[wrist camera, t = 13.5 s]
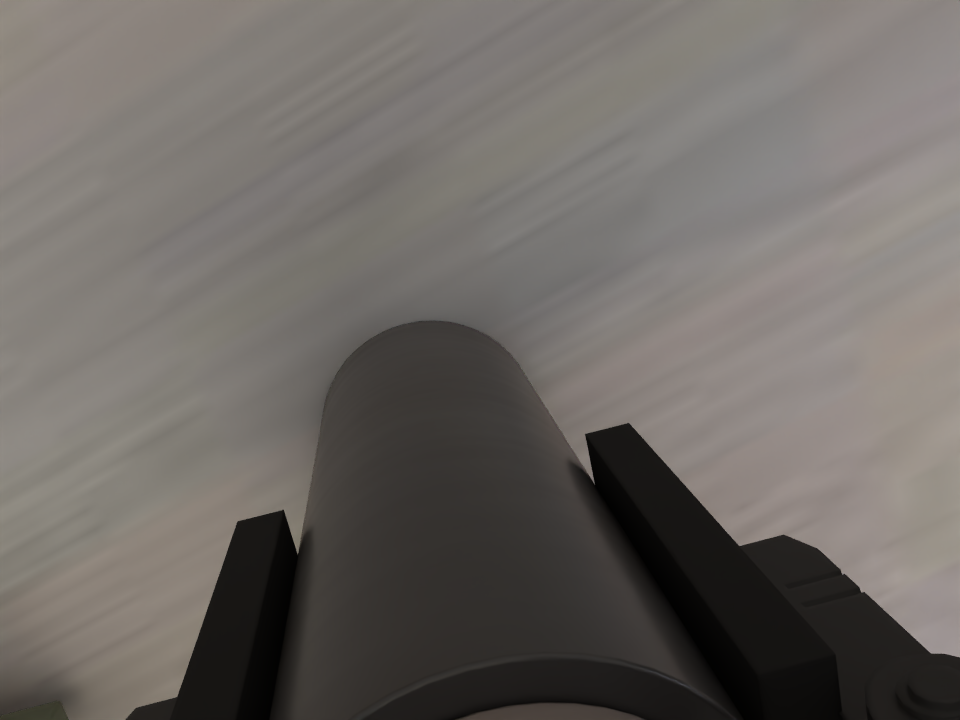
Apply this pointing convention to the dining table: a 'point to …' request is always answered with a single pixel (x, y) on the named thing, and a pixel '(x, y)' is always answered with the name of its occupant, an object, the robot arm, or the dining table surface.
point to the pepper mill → (470, 558)
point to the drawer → (39, 713)
